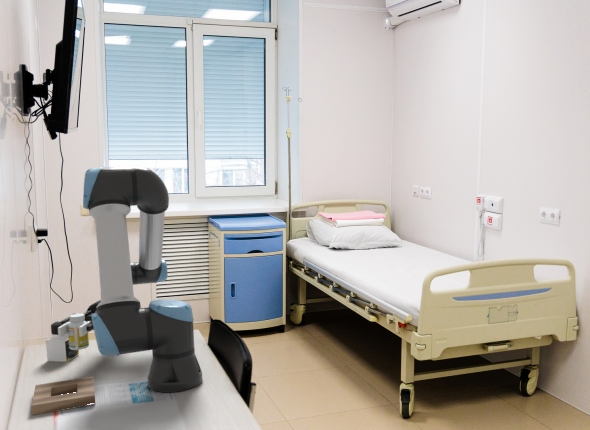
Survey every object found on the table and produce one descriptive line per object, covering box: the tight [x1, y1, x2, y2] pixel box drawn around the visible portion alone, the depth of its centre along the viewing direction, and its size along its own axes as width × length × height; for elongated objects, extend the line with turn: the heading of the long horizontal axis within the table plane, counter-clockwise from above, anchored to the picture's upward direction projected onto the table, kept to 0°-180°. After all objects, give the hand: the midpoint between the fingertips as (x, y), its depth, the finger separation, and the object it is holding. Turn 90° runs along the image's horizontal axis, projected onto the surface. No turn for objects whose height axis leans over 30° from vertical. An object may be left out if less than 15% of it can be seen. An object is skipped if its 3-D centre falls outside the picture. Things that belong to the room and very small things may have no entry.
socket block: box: [31, 376, 96, 416], centre depth 158 cm, size 15×15×2 cm
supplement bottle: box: [68, 313, 90, 350], centre depth 173 cm, size 5×5×10 cm
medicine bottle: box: [45, 320, 80, 363], centre depth 192 cm, size 7×7×12 cm
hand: (69, 332), depth 168 cm, fingers closed on supplement bottle, 5 cm apart
